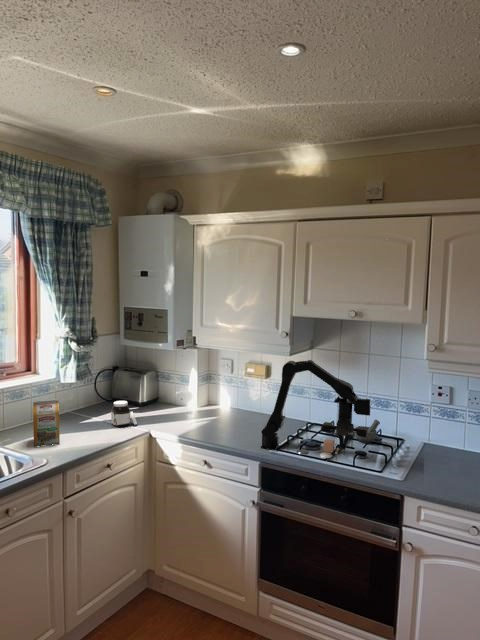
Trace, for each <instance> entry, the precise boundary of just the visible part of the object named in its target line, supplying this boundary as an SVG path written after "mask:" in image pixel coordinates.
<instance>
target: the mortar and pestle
mask: <svg viewBox="0 0 480 640" xmlns="http://www.w3.org/2000/svg"><path fill="white" fill-rule="evenodd" d="M380 424H381V422H380V420H378V419H374V420H373V422H372V423H371V425H370V426H366V427H367V428H368V434H367V437H360V436H358V435H357V433H354V434H353V435H354V436H355V438H356V440H357V441H358V442H359V443H361V444H366V445H367V444H372V442H373V441H375V439H376V437H377V432H378V431H377V428H378V426H379V425H380ZM362 427H365V426H362ZM355 428H358V426H356V427H355Z"/></svg>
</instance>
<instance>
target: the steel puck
mask: <svg viewBox="0 0 480 640" xmlns="http://www.w3.org/2000/svg"><path fill="white" fill-rule="evenodd" d="M296 453H297V454H299V455H304V456H305V455H308V454H310V453H309V451H308V450H307V449H297V451H296Z"/></svg>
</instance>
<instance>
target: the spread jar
mask: <svg viewBox="0 0 480 640" xmlns="http://www.w3.org/2000/svg"><path fill="white" fill-rule="evenodd" d="M110 410H111V411H110V412H111V413H110V417H111V418H110V420H111V423H112V426H113V427H115V428H124V427H127V426H129V425H130V424H131V419H132V422H133V424H134V426H136V425H137V424H138V423H137V420H136V417H135V414H134V412H133V411H131V409H130V406H128V401H127V400H116V401H114V402H113V406H112V407H111V409H110Z"/></svg>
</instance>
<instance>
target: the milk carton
mask: <svg viewBox="0 0 480 640" xmlns="http://www.w3.org/2000/svg"><path fill="white" fill-rule="evenodd" d="M59 407H60V405H59V399H49V400H48V399H47V400H37V401H36V400H35V401H34V400H33V401H32V421H33V424H32V425H33V429H32V430H33V447H34V446H40V447H42V446H41V445H49V446H53V445H52V444H58V445H61V444H60V443H61V442H60V441H61V440H60V408H59Z"/></svg>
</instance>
